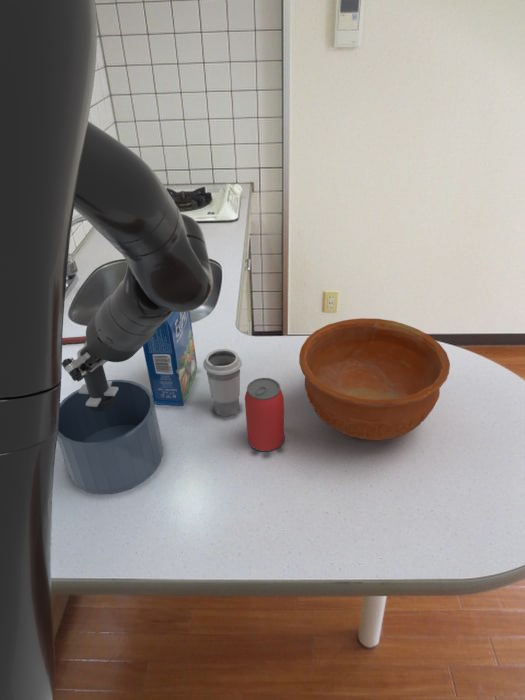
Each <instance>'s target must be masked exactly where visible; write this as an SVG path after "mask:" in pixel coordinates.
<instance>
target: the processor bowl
mask: <svg viewBox="0 0 525 700" xmlns="http://www.w3.org/2000/svg"><path fill="white" fill-rule="evenodd" d="M107 381H112V385H111V387H118V389H119V390H118V391H117V393H116V394H115V398H116V402H115V404H114V405H113V406H112V407H111V408H109V409H107V410H105V411H99V412H96V411H92V410H90V409H89V407H88V406H86V402H87V401H86V396H87V395H88V394H80V393H79V392H78V391H79V389H80V388H78V389H76V390H75V391H73V392H71V393H70V394H69V395H67V396H66V397H65V398H64V399H63V400H61V401H60V409H59V425H58V436H57V444H58V446H59V449H60V452H61V455H62V457H63V460H64V464H65V465H66V469H67V472H68V474H69V478H70V479H71V481H72V482H73V483H74V484H75V485H76V486H77V487H78V488H79V489H82V490H83V491H86V492H88V493H90V494H91V493H93V494H98V495H109V494H117V493H121V492H125V491H128V490H131V489H132V488H135V487H137V486H138V485H140V484H141V483H144V482H145V481H147V479H149V478H150V477H151V476H152V475H153V474H154V473H156V471H157V469H158V468H159V467H160V464H161V462H162V460H163V457H164V445H163V440H162V435H161V428H160V424H159V419H158V414H157V410H156V404H154V399H153V395H152V392H151V391H150V389H148V388H147V387H146V386H145V385H143V384H141V383H139V382H136V381H133V380H127V379H107Z"/></svg>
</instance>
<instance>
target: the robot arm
mask: <svg viewBox="0 0 525 700" xmlns="http://www.w3.org/2000/svg"><path fill="white" fill-rule="evenodd" d="M97 47H98V22H97V7H96V0H0V700H54V692H55V683H56V647H55V629H54V613H53V612H54V611H53V591H52V564H51V563H52V562H51V561H52V550H51V549H52V525H53V523H52V522H53V493H54V477H55V476H54V475H55V461H56V460H55V459H56V453H57V452H56V451H57V444H58V441H57V436H58V425H59V409H60V403H61V392H62V377H63V376H62V375H63V373H62V371H63V369H64V371H66V372H67V374H68V375H69V376H70V377H71V380H72V381H74V382H75V381H76V382H81V381H82V380H84V377H85V376H86V375H87V374H88V373H89V372H93V371H94V370H96V369H97V368H99V367H100V366H101V365H102V364H103V366H104V365H105V364H106V363H107V362H109V363H110V362H111V363H122V362H126V361H128V360H129V359H131V358H133V356H135V355H136V353H137V352H138V351H140V350H141V349H142V348H143V345H144V344H145V343H146V342H147V341H148V340H149V339H150V338H151V337H152V336H153V335H154V333H155V332H156V330H157V329H158V328H159V327H160V326H161V325H162V324H163V323H164V321H166V320H167V318H168V317H169V316H170V315H171V314H172V312H188V311H190V312H192V311H194V310H197V309H199V308H200V307H202V306H204V304H206V302H207V301H208V299H210V296H211V295H212V292H213V288H214V277H213V271H212V266H211V262H210V258H209V253H208V249H207V248H208V247H207V244H206V239H205V236H204V233H203V230H202V228H201V226H200V225H199V223H198V222H197V221H196V220H195V219H194V218H192V217H191V216H189V215H187V214H184V213H181V211H180V208H179V207H178V205H177V204H176V202H175V200H174V198H172V195H171V194H170V192H169V191H168V189H167V188H166V187H165V185H164V183H163V182H162V181H161V179H160V178H159V177H158V175H157V173H156V172H155V170H153V169H152V167H150V166H149V164H147V162H145V160H144V159H142V158H141V157H140V156H139V155H138V154H136V153H135V152H134V151H133V150H131V148H129V147H127V146H126V145H125V144H124V143H122V142H120V141H119V140H118V139H116V138H115V137H114V136H111V135H110V134H109V133H107V132H105V131H104V130H103V129H101V127H98V126H97V125H95V124H94V123H92V122H91V121H89V118H90V111H91V105H92V98H93V91H94V84H95V75H96V64H97V49H98V48H97ZM74 210H75V211H76V212H77V213H78V214H79V215H81V217H83V218H84V219H85V221H87V222H88V223H89V224H90V225H91V226H92V227H93V228H94V229H95V230H96V231H97V232H98V233H99V234H100V235H101V236H102V237H103V238H105V240H106V241H107V242H108V243H109V244H111V246H113V247H114V248H115V249H116V250H117V251H118V252H119V253H120V254H122V257H123V258H124V259H125V261H126V264H127V266H126V270H125V275H124V278H123V279H122V281H121V282H119V284H118V285H117V287H116V288H115V290H113V292H112V293H111V294H110V295H109V296H107V298H106V299H104V301H103V302H102V304H101V305H100V307H99V308H98V309H97V311H96V312H95V313H94V314H93V316H92V317H91V319H90V320H89V321H88V323H87V326H86V329H85V336H86V342H84V345H83V347H82V348H80V349H81V350H80V349H79V350H80V351H79V350H78V351H79V352H78V351H77V353H76V356H77V358H76V359H75V358H73V357H70V358H69V357H68V358H65V359H63V344H62V338H63V331H64V315H65V301H66V290H67V289H66V288H67V276H68V263H69V253H70V242H71V234H72V224H73V216H74ZM62 368H63V369H62Z"/></svg>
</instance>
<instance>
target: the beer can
mask: <svg viewBox="0 0 525 700" xmlns="http://www.w3.org/2000/svg"><path fill="white" fill-rule="evenodd" d="M284 401H285V397H284V394H283V391H282V389H281V384H280V383H279V382H278V381H277V380H275V379H273V378H269V377H259V378H255V379H253V380H252V381H250V382H249V383H248V384H247V387H246V392H245V395H244V406H245V407H244V408H245V409H244V410H245V421H246V422H245V423H246V435H247V442H248V443H249V445H250V447H252V448H253V449H254V450H257V451H259V452H260V451H261V452H270V451H274V450H276V449H278V448H279V447H281V446H282V444H283V443H284V441H285V402H284Z"/></svg>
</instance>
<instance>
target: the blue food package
mask: <svg viewBox="0 0 525 700" xmlns="http://www.w3.org/2000/svg"><path fill="white" fill-rule="evenodd" d="M142 349H143V356H144V359H145V366H146V370H147V375H148V379H149V384H150V390H151V394H152V396H153V399H154V404H155V405H165V406H166V405H168V406H184V405H185V402H186V400H187V398H188V395H189V393H190V391H191V388H192V385H193V383H194V381H195V378H196V374H197V371H198V362H197V361H198V360H197V354H196V345H195V340H194V332H193V324H192V316H191V311H188V312H172V314H171V315H170V316H169V317H168V318H167V320H166V321H164V323H163V324H162V325H161V326H160V327H159V328H158V329H157V330H156V332H155V333H154V335H153V336H152V337H151V338H150V339H149V340H148V341H147V342H146V343H145V344H144V345H143V346H142Z"/></svg>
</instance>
